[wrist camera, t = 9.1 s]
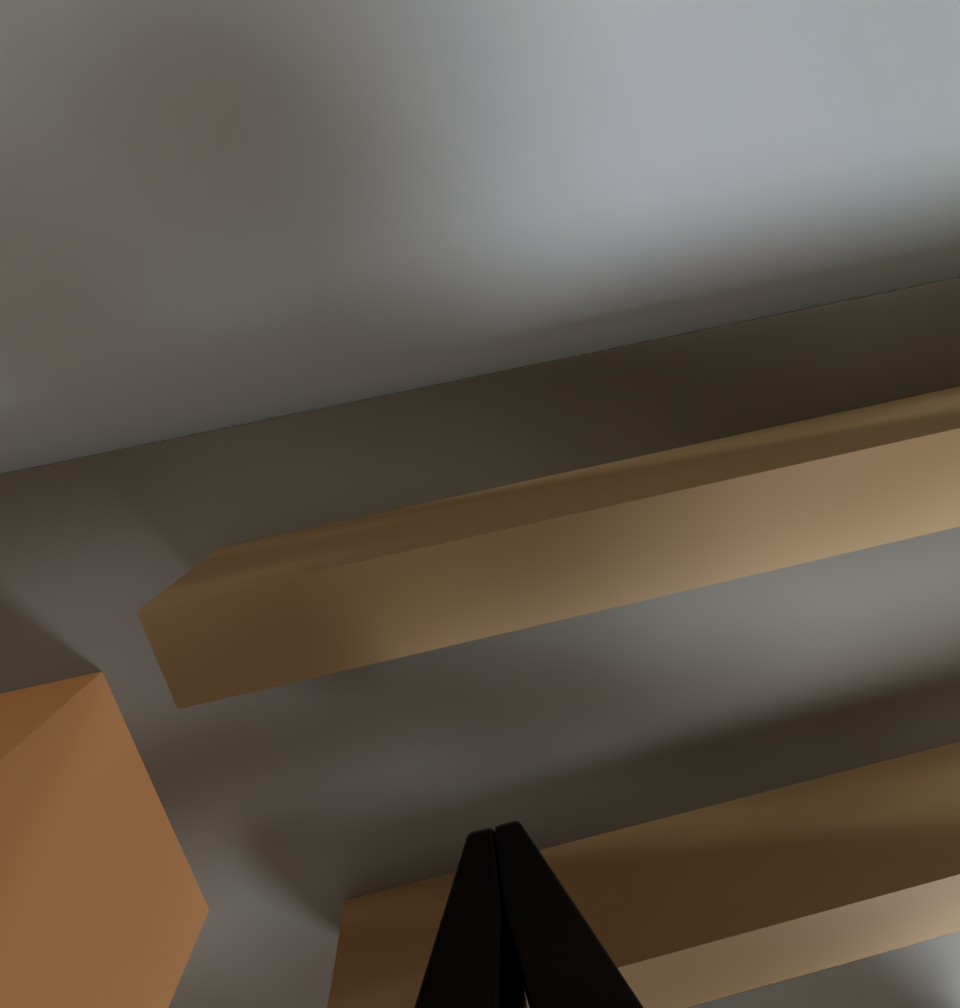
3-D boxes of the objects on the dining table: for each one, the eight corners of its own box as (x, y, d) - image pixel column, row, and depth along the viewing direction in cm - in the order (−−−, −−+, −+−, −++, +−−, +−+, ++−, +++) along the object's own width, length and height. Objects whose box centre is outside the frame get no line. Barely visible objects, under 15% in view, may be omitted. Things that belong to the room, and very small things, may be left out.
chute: (1126, 771, 14) (1341, 890, 10) (-98, 1098, 12) (-291, 1360, 9) (1224, 222, 10) (1599, 146, 7) (-505, 578, 8) (-1087, 699, 5)
